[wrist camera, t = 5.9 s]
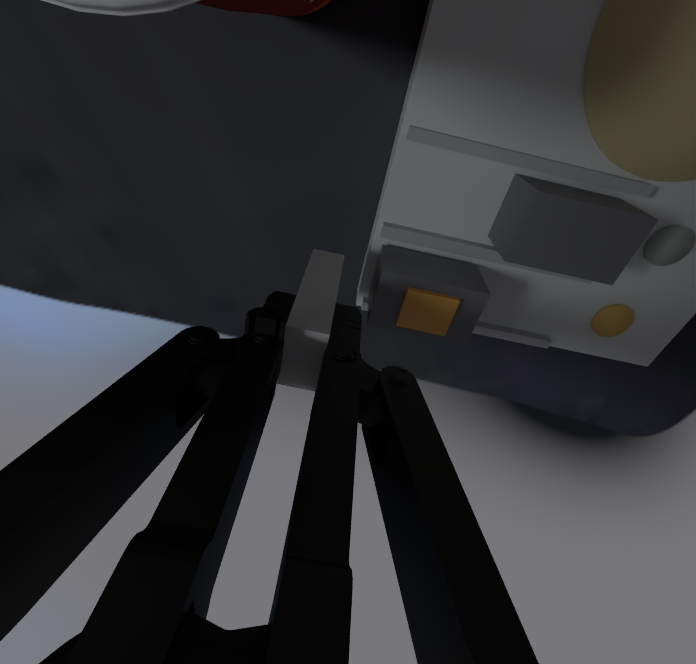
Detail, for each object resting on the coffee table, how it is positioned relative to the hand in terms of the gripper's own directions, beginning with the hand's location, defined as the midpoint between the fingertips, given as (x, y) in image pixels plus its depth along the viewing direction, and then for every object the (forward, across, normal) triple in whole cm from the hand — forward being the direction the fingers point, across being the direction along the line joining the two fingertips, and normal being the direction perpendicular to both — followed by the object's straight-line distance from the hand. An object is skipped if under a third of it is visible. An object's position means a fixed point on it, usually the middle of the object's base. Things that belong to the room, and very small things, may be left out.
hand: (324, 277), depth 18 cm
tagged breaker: (+2, +5, 0) cm, 5 cm away
